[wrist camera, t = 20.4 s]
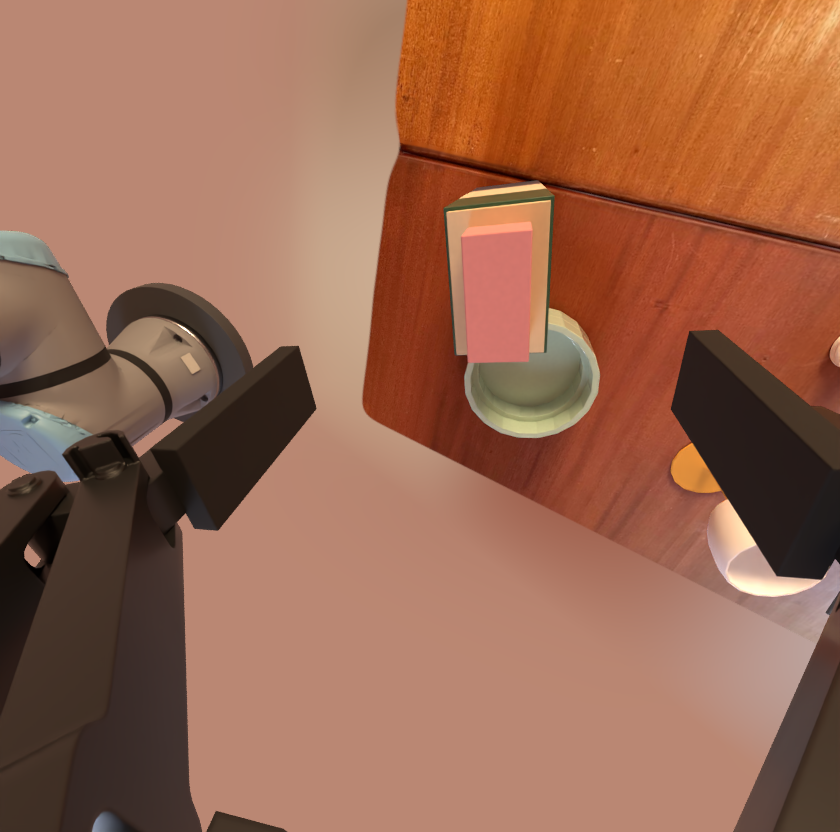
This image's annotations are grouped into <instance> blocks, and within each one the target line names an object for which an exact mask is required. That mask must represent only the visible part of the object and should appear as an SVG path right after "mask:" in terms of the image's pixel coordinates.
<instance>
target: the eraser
mask: <svg viewBox="0 0 840 832" xmlns="http://www.w3.org/2000/svg"><path fill="white" fill-rule="evenodd" d="M532 239H533V230H532V225H531V222H522V223H511V224H501V225H491V226H480V227H470V228H467V229H466V231H465V232H464V233H463V234H462V236H461V248H462V266H463V285H464V303H465V321H466V340H467V358H468V363H494V362H528V361H529V339H530V306H531V272H532Z"/></svg>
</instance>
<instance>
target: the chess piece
mask: <svg viewBox="0 0 840 832" xmlns="http://www.w3.org/2000/svg"><path fill="white" fill-rule="evenodd" d="M830 359H831V361H832V362H833V363H834V364H835V365H836V366H838V367H840V337H839V338H838V339H837V340H836V341H835V342H834V344H833V345H832V347H831V350H830Z"/></svg>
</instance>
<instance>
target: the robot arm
mask: <svg viewBox="0 0 840 832" xmlns="http://www.w3.org/2000/svg"><path fill="white" fill-rule="evenodd" d="M68 278H69V276H68V274H67V273H66V272H65V270H63V269H62V268H61V267H60V265H59V263H58V262H57V260H56V258H55V257H54V255H53V253H52V252H51V250H50V249H49V247H48V246H47V245H46V244H45V243H44V242H43V241H42V240H40V239H39V238H37V237H35V236H33V235H30V234H28V233H23V232H16V231H0V455H1V456H2V457H4V458H5V459H7V460H8V461H10V462H11V463H13V464H14V465H16V466H18V467H20V468H22V469H24V470H26V471H28V472H30V473H32V474H26V475H24V476H22V477H19V478H17V479H15V480H13V481H12V482H11V483H10V484H8V485H6V486H5V487H3V488H2V489H1V490H0V832H202V829H201V824H200V820H199V817H198V815H197V812H196V809H195V807H194V804H193V802H192V798H191V793H190V786H189V765H188V764H189V761H188V725H187V691H186V653H185V617H184V584H183V583H184V580H183V543H182V531H181V529H180V527H179V525H178V524H177V521H179V519H180V518H181V517H182V516H183V515H184V514H185V513H186V514H187V516H188V518H189V520H190V521H191V523H192V525H193V527H194V528H195V529H204V530H219V529H220V527H221V526H222V525H223V524H224V523H225V521H226V520H227V519H228V518H229V516H230V515H231V514H232V513H233V512H234V510H235V509H236V508H237V507H238V505H239V504H240V503H241V501H242V500H243V499H244V498H245V497H246V495H247V494H248V493H249V492H250V490H251V489H252V488H253V487H254V485H255V484H256V483H257V482H258V480H259V479H260V478H261V477H262V475H263V474H264V473H265V472H266V471H267V469H268V468H269V467H270V465H271V464H272V463H273V462H274V461H275V459H276V458H277V457H278V456H279V455H280V453H281V452H282V451H283V450H284V448H285V447H286V446H287V445H288V443H289V442H290V441H291V440H292V438H293V437H294V436H295V435H296V433H297V432H298V431H299V430H300V429H301V427H302V426H303V425H304V424H305V422H306V421H307V420H308V418H309V417H310V416H311V415H312V414H313V413H314V411H315V410H316V405H315V401H314V398H313V395H312V391H311V387H310V384H309V381H308V377H307V373H306V370H305V366H304V363H303V359H302V356H301V352H300V349H299V346H286V347H285V346H283V347H279V348H278V349H277V350H276V351H274V352H273V353H272V354H271V355H269V356H268V357H267V358H265V359H264V360H263V361H262V362H260V363H259V364H258V365H256V366H255V367H254V368H253V369H251V370H250V371H249V372H247V373H246V374H245V375H244V376H242V377H241V378H240V379H239V380H237V381H236V382H235V383H233V384H232V385H231V386H230V387H228V388H227V389H226V390H224V391H223V392H222V393H221V390H222V386H223V374H222V369H221V366H220V363H219V361H218V358H217V356H216V354H215V353H214V351H213V350H212V348H211V347H210V345H209V344H208V343H207V342H206V340H205V339H204V338H203V337H202V336H201V335H200V334H199V333H198V332H197V331H195V330H194V329H193V328H191V327H190V326H189V325H187V324H185V323H184V322H182V321H180V320H178V319H175V318H173V317H170V316H166V315H159V314H154V315H148V316H145V317H142V318H140V319H138V320H135V321H134V322H132V323H131V324H129V325H128V326H127V327H126V328H125V329H124V330H123V331H122V332H121V333H120V334H119V335H118V336H117V337H116V339H115V340H114V341H113V342H112V343H111V344H110V345H109V346H108V347H107V348H106V347H105V345H104V343H103V341H102V339H101V337H100V336H99V334H98V332H97V330H96V328H95V327H94V325H93V323H92V321H91V319H90V318H89V316H88V314H87V312H86V310H85V308H84V307H83V305H82V303H81V301H80V300H79V298H78V296H77V294H76V292H75V291H74V289H73V287H72V285H71V283H70V281H69V280H68ZM220 393H221V394H220ZM671 410H672V412H673V413H674V415H675V417H676V418H677V420H678V421H679V423H680V424H681V426H682V428H683V429H684V431H685V432H686V434H687V435H688V437H689V439H690V440H691V442H692V443H693V445H694V447H695V448H696V450H697V451H698V453H699V454H700V456H701V458H702V459H703V461H704V462H705V464H706V466H707V467H708V469H709V470H710V472H711V473H712V475H713V477H714V478H715V480H716V481H717V483H718V485H719V486H720V488H721V489H722V491H723V492H724V494H725V496H726V497H727V499H728V500H729V502H730V503H731V505H732V507H733V508H734V510H735V511H736V513H737V515H738V516H739V518H740V519H741V521H742V522H743V524H744V526H745V527H746V529H747V530H748V532H749V534H750V535H751V537H752V538H753V540H754V541H755V543H756V545H757V546H758V548H759V549H760V551H761V553H762V554H763V556H764V557H765V559H766V560H767V562H768V564H769V565H770V567H771V568H772V570H773V571H774V573H775V575H776V576H779V577H791V578H803V579H816V580H822V579H823V578H824V576H825V575H826V573H827V571H828V570H829V568H830V566H831V565H832V563H833V562H834V560H835V559H836V560H837V561H838V562H839V564H840V414H837V413H835V412H833V411H831V410H829V409H826V408H824V407H822V406H810V405H809V404H808V403H806V402H805V401H804V400H803V399H801V398H800V397H799V396H798V395H797V394H795V393H794V392H793V391H792V390H790V389H789V388H788V387H787V386H786V385H784V384H783V383H782V382H781V381H780V380H778V379H777V378H776V377H775V376H773V375H772V374H771V373H770V372H769V371H767V370H766V369H765V368H764V367H763V366H761V365H760V364H759V363H758V362H756V361H755V360H754V359H753V358H752V357H750V356H749V355H748V354H747V353H746V352H744V351H743V350H742V349H741V348H739V347H738V346H737V345H736V344H735V343H733V342H732V341H731V340H730V339H729V338H727V337H726V336H725V335H724V334H722V333H721V332H720V331H719V330H704V331H689V335H688V339H687V343H686V347H685V352H684V356H683V360H682V364H681V368H680V373H679V377H678V381H677V385H676V390H675V394H674V398H673V402H672V406H671ZM195 411H198V412H196V413H195V414H194V415H193V416H191V417H190V418H189V419H187V420H186V421H185V422H184V423H182V424H181V425H180V426H178V427H177V428H176V429H175V430H173V431H172V432H171V433H170V434H168V435H167V436H166V437H164V438H163V439H162V440H161V441H159V442H158V443H157V444H155V445H154V446H153V447H152V448H151V449H150V450H148V451H147V452H146V453H145V454H143V455H142V456H141V457H138V456H137V454H136V452H135V451H134V449H133V447H132V446H133V445H135V444H136V443H137V442H138V441H140V440H141V439H142V438H144V437H145V436H147V435H148V434H149V433H151V432H152V431H153V430H155V429H156V428H157V427H159V426H160V425H161V424H162V423H164V422H165V421H167V420H168V419H172V418H175V417H178V416H182V415H185V414H189V413H192V412H195ZM78 480H80V482H78V483H72V484H67V485H65V484H64V483H63V482H71V481H72V482H73V481H78ZM27 544H28V545H29V546H30V547H31V548H32V549H33V550H34V551H35V553H36V554H37V555H38V556H39V557H40V558H41V560H40V562H39V563H38V565H37V566H36V567H33V566H31V565H30V564H29V563H28V562H27V561H26V560H25V559H24V551H25V548H26V546H27ZM826 613H827V614H829V615H830V616H829V618H828V620H827V623H826V625H825V627H824V629H823V632H822V634H821V636H820V638H819V641H818V643H817V645H816V648H815V649H814V652H813V654H812V656H811V658H810V661H809V663H808V665H807V668H806V670H805V672H804V674H803V676H802V679H801V681H800V683H799V685H798V688H797V690H796V692H795V694H794V697H793V699H792V701H791V703H790V706H789V708H788V710H787V712H786V715H785V717H784V719H783V722H782V724H781V726H780V728H779V730H778V733H777V735H776V737H775V739H774V742H773V744H772V746H771V748H770V751H769V753H768V755H767V757H766V760H765V762H764V764H763V766H762V768H761V771H760V773H759V775H758V777H757V780H756V782H755V784H754V787H753V789H752V791H751V793H750V796H749V798H748V800H747V802H746V804H745V807H744V809H743V811H742V814H741V816H740V818H739V820H738V823H737V825H736V827H735V829H734V831H733V832H840V592H839V593H838V595H837V596H836V598H835V599H834V601H833V602H832V604H831V605H830V607H829V608H828V610H827V611H826ZM207 832H287V831H285V830H284V829H282V828H278V827H274V826H270V825H267V824H263V823H259V822H256V821H252V820H248V819H244V818H241V817H237V816H233V815H229V814H225V813H222V812H218V811H216V812H215V814H214V816H213V819H212V821H211V823H210V825H209V827H208V829H207Z"/></svg>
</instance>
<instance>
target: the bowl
mask: <svg viewBox="0 0 840 832" xmlns="http://www.w3.org/2000/svg"><path fill="white" fill-rule="evenodd" d="M599 379H600V372H599V368H598V364H597V360H596V356H595V354H594V351H593V349H592V346H591V344H590V341H589V338H588V336H587V335H586V334H585V332H584V331H583V330H582V328H581V327H580V325H579V324H578V323H577V322H576V321H575V320H573V319H572V318H570V317H569V316H567V315H566V314H564V313H563V312H561V311H558V310H555V309H551V308H549V316H548V336H547V353H529V361H528V362H494V363H467V367H466V371H465V375H464V381H465V394H466V396H467V399H468V401H469V403H470V406H471V408H472V410H473V411H474V412H475V413H476V415H477V416H478V417H479V418H480V419H481V420H482V421H483V422H484V423H485V424H487V425H488V426H490V427H492V428H493V429H495V430H497V431H498V432H500V433H503V434H507V435H510V436H514V437H517V438H540V437H544V436H549V435H553V434H557V433H559V432H561V431H563V430H565V429H567V428H569V427H570V426H572V425H574V424H575V423H576V422H578V421H579V420H580V419H581V418H582V417H583V416H584V415H585V414H586V413H587V412H588V411H589V409H590V407H591V405H592V403H593V401H594V399H595V397H596V396H597V393H598V387H599Z"/></svg>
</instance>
